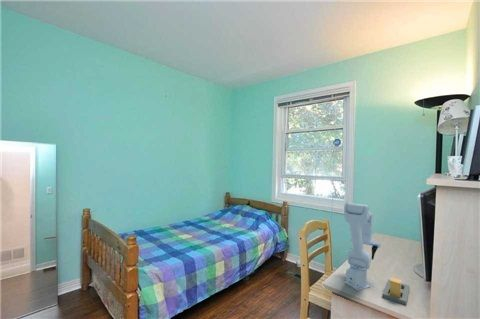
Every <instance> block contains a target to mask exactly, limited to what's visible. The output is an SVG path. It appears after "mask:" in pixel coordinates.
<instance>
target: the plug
mask: <svg viewBox="0 0 480 319" xmlns="http://www.w3.org/2000/svg"><path fill="white" fill-rule="evenodd" d="M389 280H390V292H389V294H390V295H393V296H396V297H399V298H402V296H401V289H402V288H401V283H402V280H401V279H398V278H395V277H392V276H391V277H390V279H389Z"/></svg>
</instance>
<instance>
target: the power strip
mask: <svg viewBox="0 0 480 319" xmlns="http://www.w3.org/2000/svg"><path fill="white" fill-rule="evenodd" d="M409 292H410V285H408V284H405V283H402V282H401V298H399V297H396V296H393V295H390V279H387V282H386V284H385V287H384V289H383V291H382V295H381V297H382V298H384V299H388V300H390V301H393V302H396V303H399V304H401V305H405V306H407V303H408V298H409V294H410V293H409Z"/></svg>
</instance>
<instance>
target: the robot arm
mask: <svg viewBox="0 0 480 319" xmlns="http://www.w3.org/2000/svg"><path fill="white" fill-rule="evenodd" d="M343 214H344V219H345V222H346V223H347V224H348V225H349V226H348V227H349V231H350V237H351V238H350V242H351V245H352V246H351V247H352V248H350V249H349V250H348V253H347V263H348V264H349V266H350V267H349V268H347V269H346V272H345V281H344V283H345V284H346V285H348V286H350V287H351V288H353V289H355V290H356V291H360V290H365V289H367V288H371V285H370V284H369V283H367V280H368V270H369V269H370V268H371V263H372V261H373V260H374V259H375V255H376V252H377V250H378V248H381V242H377V241H373V240H372V228H373V222H374V221H373V220H374V214H373V212H372V211H370V208H369V205H368V204H361V203H353V202H348V201H347V202H345V204H344V209H343ZM364 245H367V246H371V256H370V253H369V252H368V251H366V250H365V249H364ZM371 260H372V261H371Z"/></svg>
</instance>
